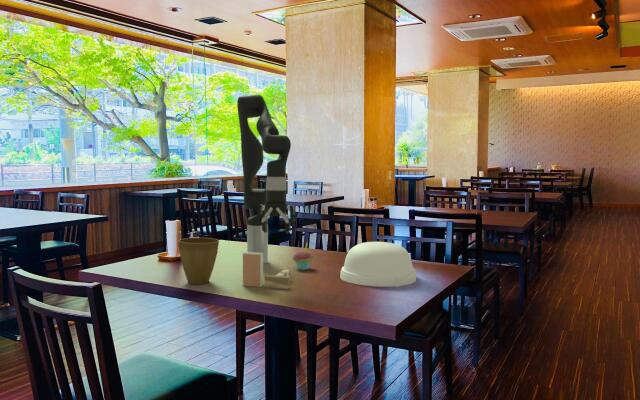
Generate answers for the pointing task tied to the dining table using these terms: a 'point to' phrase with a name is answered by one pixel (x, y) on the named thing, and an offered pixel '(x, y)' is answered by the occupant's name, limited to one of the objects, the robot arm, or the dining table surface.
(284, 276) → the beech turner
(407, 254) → the dome cover
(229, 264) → the dining table surface
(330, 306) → the dining table surface
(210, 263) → the plant pot
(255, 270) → the pink white upright block
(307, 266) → the cupcake
